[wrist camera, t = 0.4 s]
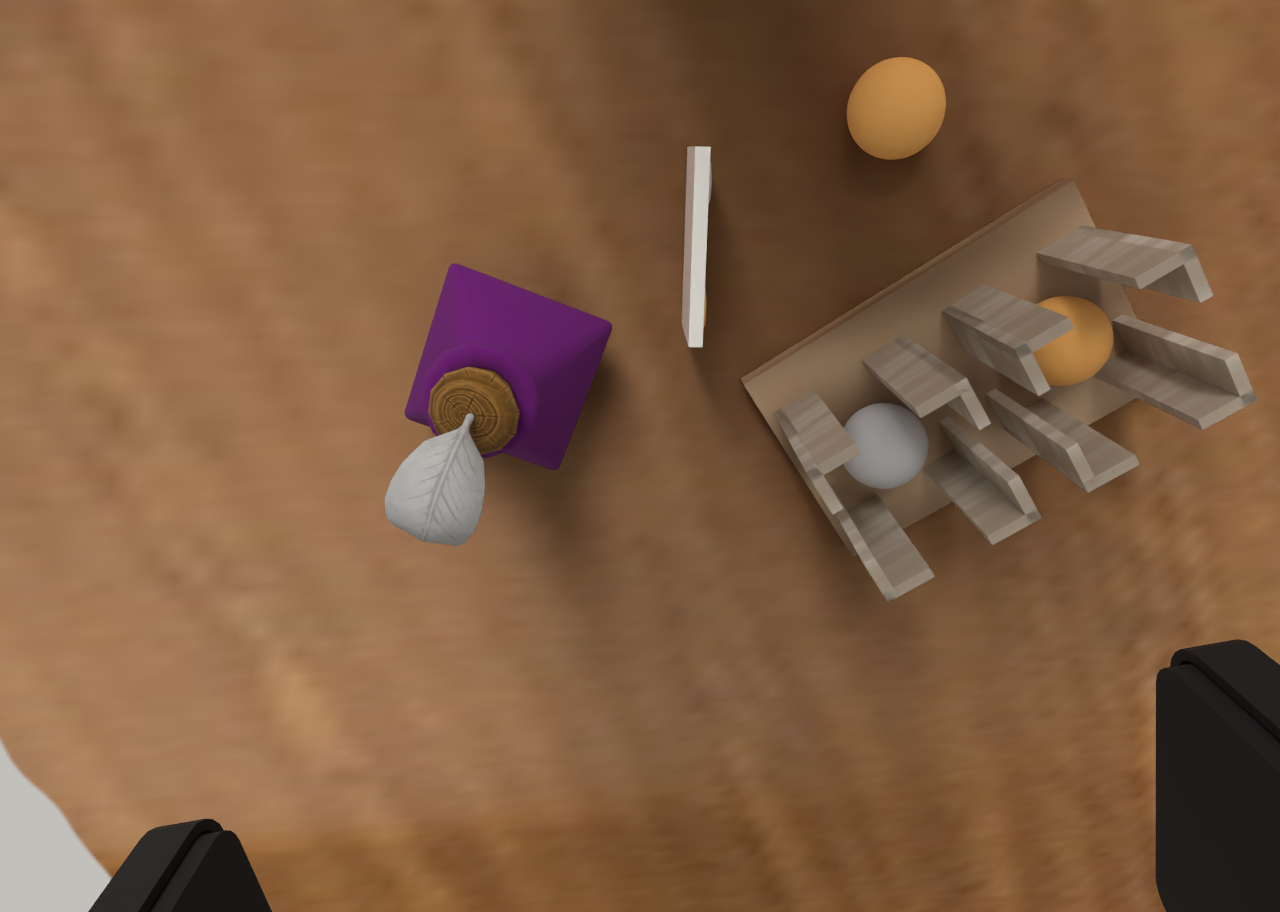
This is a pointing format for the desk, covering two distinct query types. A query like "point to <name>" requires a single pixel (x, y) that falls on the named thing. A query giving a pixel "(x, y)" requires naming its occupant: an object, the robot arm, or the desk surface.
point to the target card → (696, 243)
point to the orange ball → (896, 108)
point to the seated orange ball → (1075, 342)
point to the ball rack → (990, 377)
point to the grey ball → (886, 445)
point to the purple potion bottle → (490, 397)
